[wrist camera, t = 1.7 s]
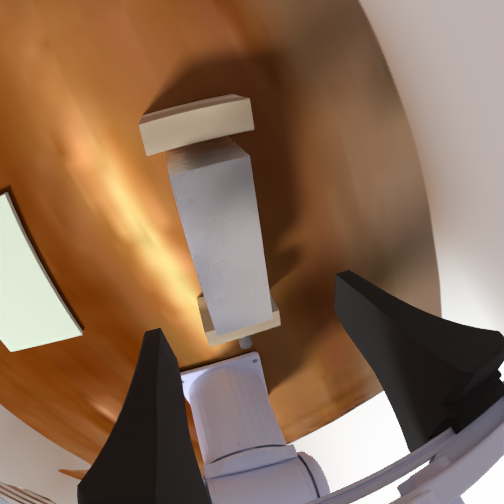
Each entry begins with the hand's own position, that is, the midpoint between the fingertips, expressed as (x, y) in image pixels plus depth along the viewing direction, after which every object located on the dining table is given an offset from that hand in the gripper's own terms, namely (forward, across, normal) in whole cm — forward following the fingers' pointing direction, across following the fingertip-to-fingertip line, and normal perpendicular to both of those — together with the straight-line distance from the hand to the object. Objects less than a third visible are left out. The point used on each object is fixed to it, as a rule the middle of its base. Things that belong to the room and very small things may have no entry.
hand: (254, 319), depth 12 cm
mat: (+9, +16, 0) cm, 18 cm away
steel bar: (+9, 0, 0) cm, 9 cm away
